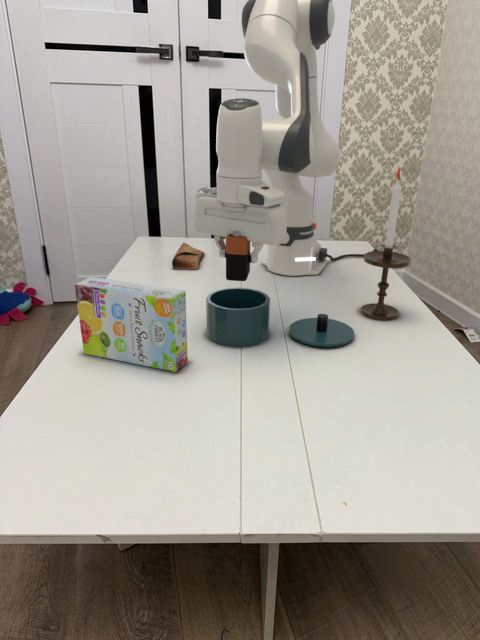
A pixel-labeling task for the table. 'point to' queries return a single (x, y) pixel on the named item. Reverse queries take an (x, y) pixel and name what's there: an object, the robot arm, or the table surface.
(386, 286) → the candlestick
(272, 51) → the robot arm
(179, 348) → the snack box
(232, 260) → the battery
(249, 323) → the pot
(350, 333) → the lid
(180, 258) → the sunglasses case
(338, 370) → the table surface
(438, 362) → the table surface
